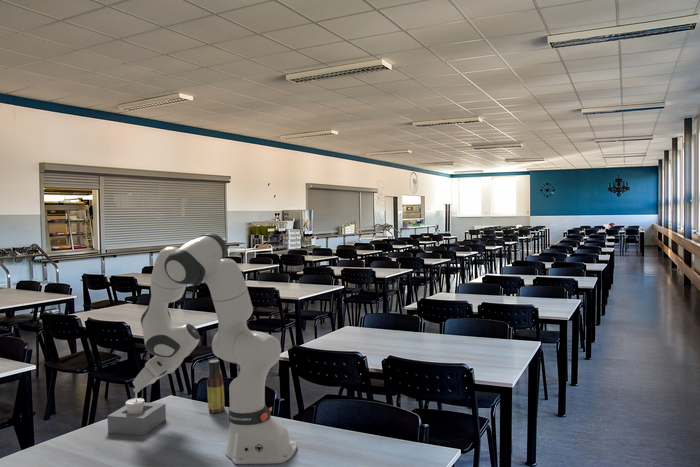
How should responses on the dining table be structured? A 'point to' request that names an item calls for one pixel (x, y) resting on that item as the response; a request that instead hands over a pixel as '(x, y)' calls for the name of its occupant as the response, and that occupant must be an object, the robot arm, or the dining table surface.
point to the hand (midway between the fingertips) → (143, 386)
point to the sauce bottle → (215, 388)
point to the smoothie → (135, 405)
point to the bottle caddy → (137, 419)
